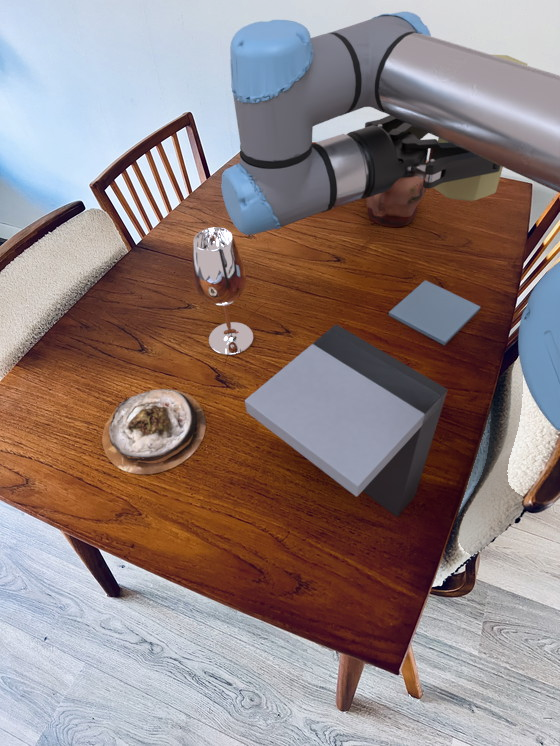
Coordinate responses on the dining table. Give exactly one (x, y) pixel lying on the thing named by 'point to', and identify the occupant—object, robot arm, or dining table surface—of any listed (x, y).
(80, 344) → the dining table surface
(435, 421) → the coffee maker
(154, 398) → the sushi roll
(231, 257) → the wineglass
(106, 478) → the dining table surface
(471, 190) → the jar
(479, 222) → the dining table surface
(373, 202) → the pink ceramic mug
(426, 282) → the plate
